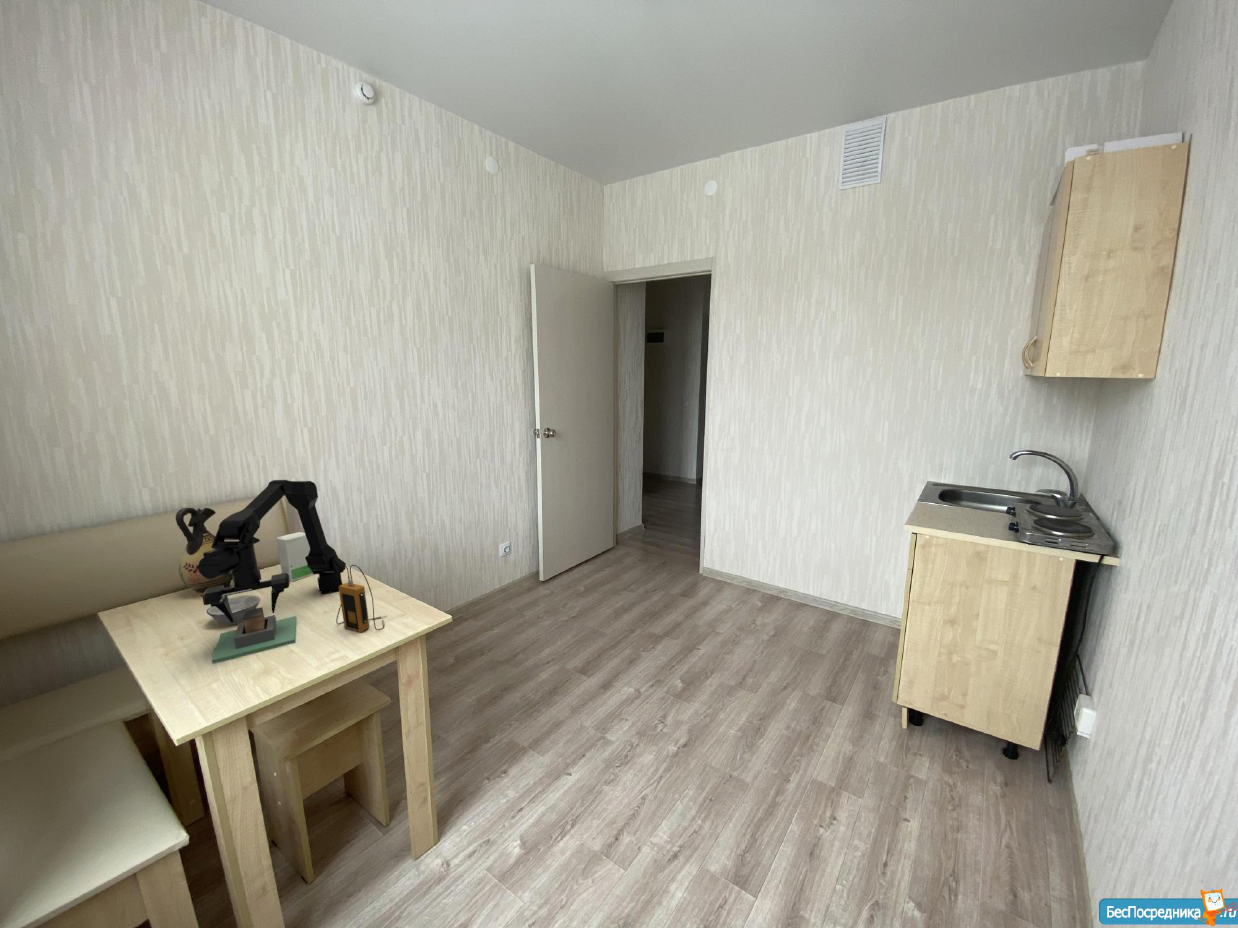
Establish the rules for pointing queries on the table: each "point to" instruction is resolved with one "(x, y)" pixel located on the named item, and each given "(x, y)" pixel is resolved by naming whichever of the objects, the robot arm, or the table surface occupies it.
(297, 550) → the skincare box
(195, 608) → the table surface
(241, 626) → the board
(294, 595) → the table surface
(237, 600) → the bowl
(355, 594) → the multimeter
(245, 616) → the plug
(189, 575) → the ceramic jug
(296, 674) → the table surface
